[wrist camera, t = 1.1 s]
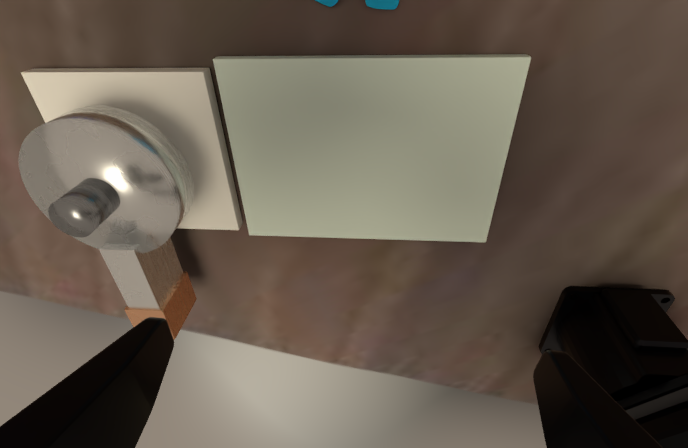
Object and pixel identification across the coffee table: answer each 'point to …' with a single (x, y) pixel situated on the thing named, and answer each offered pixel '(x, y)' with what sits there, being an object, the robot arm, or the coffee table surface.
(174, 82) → the base
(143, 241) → the silver round handled piece
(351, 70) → the mat
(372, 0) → the gear
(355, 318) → the coffee table surface
